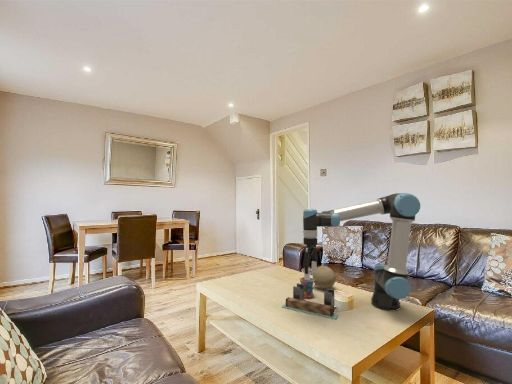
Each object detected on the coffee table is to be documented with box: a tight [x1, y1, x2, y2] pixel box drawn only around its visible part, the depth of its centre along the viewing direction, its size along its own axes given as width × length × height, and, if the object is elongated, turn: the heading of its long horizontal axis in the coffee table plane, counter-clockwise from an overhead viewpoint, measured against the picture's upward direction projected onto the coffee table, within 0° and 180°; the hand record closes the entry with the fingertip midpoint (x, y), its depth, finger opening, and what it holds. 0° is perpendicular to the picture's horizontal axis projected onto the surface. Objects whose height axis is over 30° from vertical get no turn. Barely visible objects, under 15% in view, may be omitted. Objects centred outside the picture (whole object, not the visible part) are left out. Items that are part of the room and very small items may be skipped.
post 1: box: [292, 282, 307, 301], centre depth 155 cm, size 6×9×10 cm, turn 151°
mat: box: [281, 302, 339, 320], centre depth 144 cm, size 30×6×1 cm, turn 61°
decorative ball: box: [312, 265, 336, 290], centre depth 179 cm, size 15×15×15 cm
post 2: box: [323, 288, 337, 312], centre depth 147 cm, size 6×9×10 cm, turn 151°
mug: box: [299, 277, 316, 299], centre depth 166 cm, size 12×9×11 cm
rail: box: [285, 297, 335, 317], centre depth 144 cm, size 26×4×4 cm, turn 61°
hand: (310, 276), depth 145 cm, fingers open, 13 cm apart
